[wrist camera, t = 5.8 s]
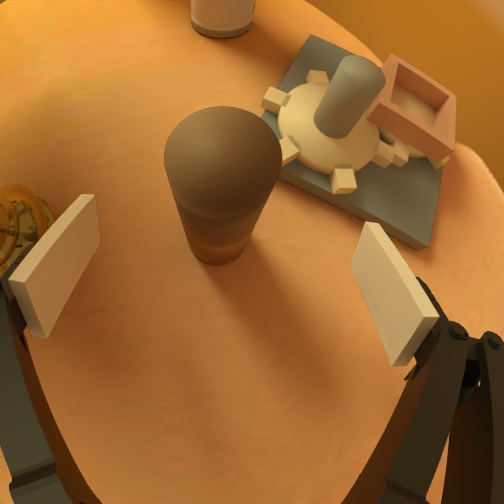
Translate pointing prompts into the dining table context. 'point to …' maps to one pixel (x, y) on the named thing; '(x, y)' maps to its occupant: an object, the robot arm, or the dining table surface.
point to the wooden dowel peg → (221, 178)
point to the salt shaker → (21, 222)
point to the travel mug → (222, 17)
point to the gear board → (364, 136)
